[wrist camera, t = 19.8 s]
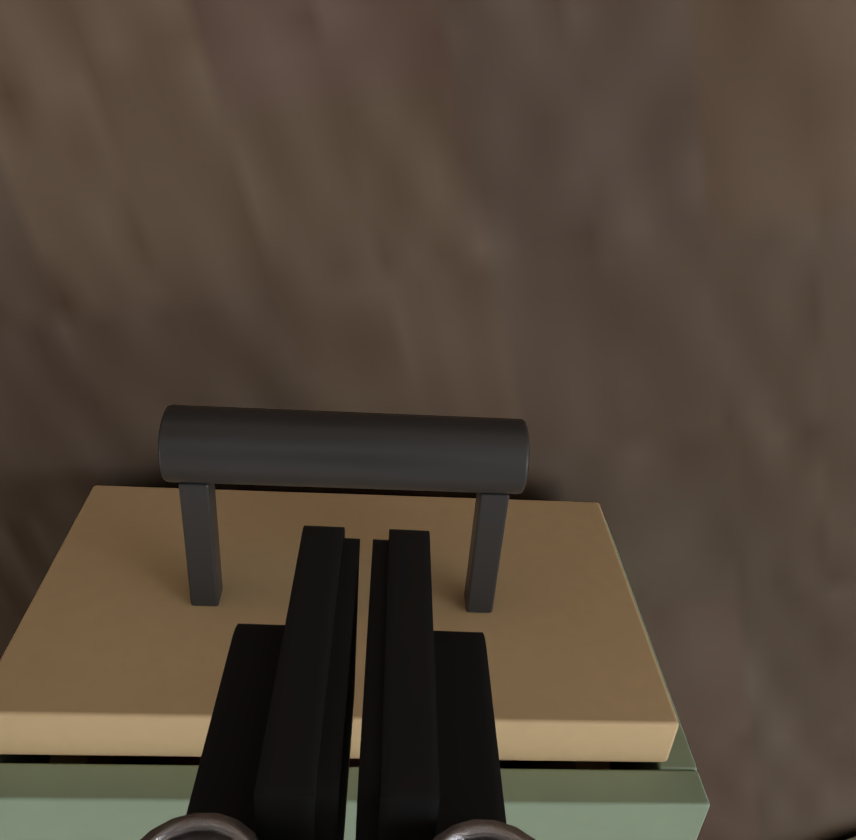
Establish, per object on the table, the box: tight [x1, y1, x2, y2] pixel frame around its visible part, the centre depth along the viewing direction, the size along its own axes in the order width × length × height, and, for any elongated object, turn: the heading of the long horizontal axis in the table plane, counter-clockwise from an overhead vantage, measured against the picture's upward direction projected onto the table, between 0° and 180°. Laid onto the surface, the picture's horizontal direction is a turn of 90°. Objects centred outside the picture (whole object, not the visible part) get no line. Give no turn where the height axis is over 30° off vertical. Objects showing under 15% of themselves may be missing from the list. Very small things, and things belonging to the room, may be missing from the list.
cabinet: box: [0, 519, 710, 840], centre depth 23 cm, size 17×15×9 cm
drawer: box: [0, 405, 679, 770], centre depth 21 cm, size 20×13×7 cm, turn 176°
